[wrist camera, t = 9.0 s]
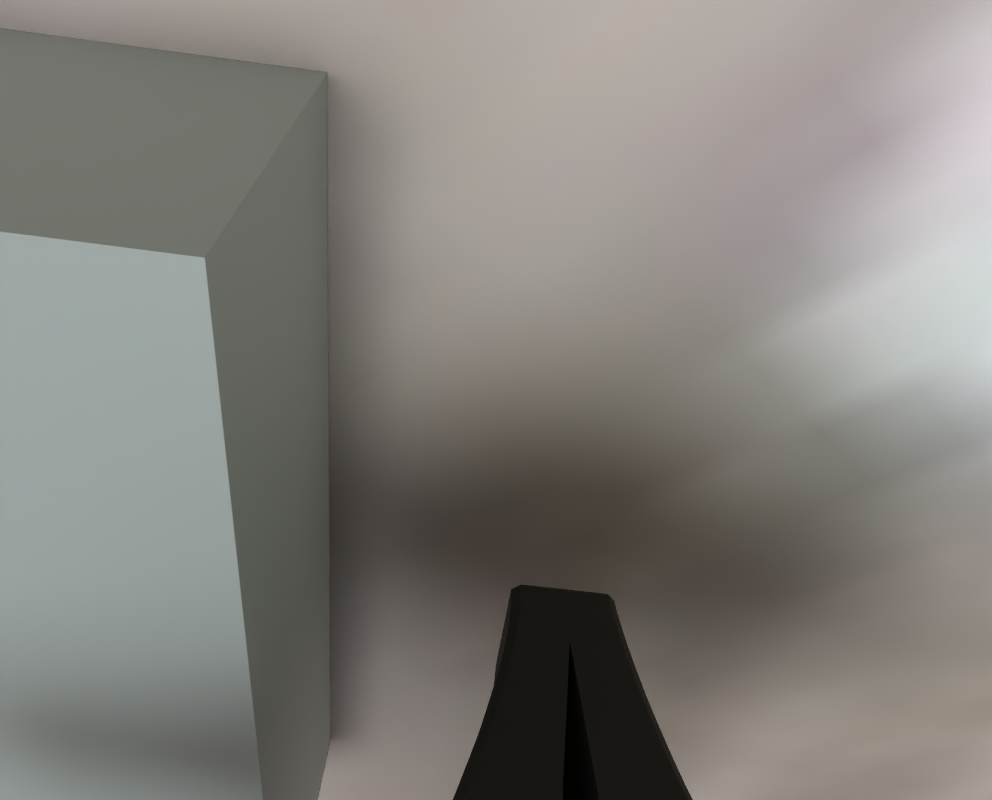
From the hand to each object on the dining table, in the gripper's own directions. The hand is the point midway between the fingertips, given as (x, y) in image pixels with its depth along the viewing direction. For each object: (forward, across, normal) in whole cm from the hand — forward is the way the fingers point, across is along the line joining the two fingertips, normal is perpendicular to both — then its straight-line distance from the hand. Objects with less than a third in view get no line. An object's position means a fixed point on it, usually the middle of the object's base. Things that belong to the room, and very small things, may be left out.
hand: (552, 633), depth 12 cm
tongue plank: (+2, +6, 0) cm, 7 cm away
